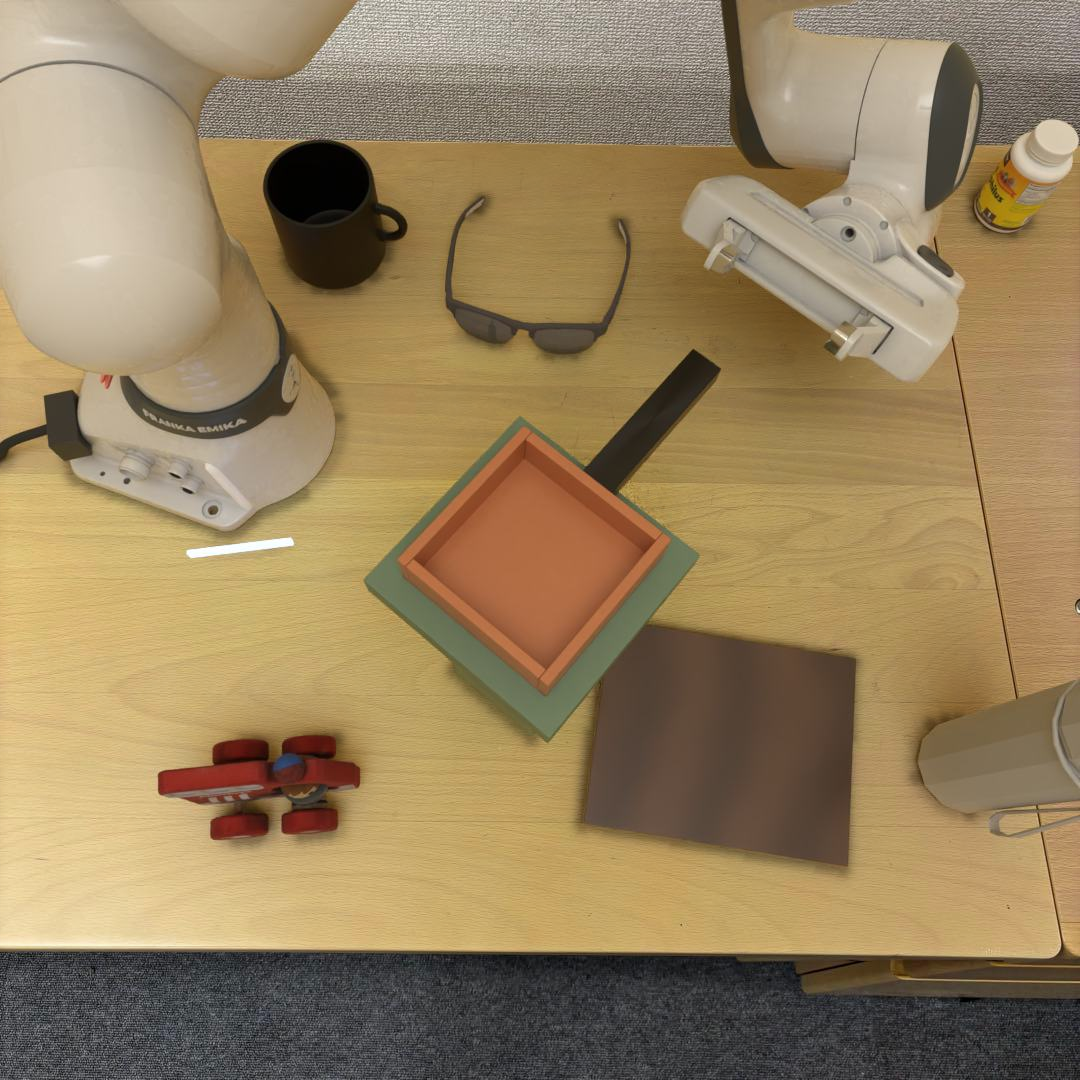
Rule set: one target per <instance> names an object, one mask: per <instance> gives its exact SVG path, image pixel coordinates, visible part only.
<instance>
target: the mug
mask: <svg viewBox="0 0 1080 1080" xmlns="http://www.w3.org/2000/svg"><path fill="white" fill-rule="evenodd" d="M262 193H263V198H264V201H265V203H266V207H267V208H268V211H269V215H270V217H271V220H272V223H273V225H274V228H275V231H276V234H277V237H278V239H279V242H280V245H281V247H282V251H283V253H284V256H285V259H286V261H287V263H288V264H287V265H288V266H289V267H290V269H291V271H292V272H293V273H294V274H296V277H298V278H299V279H301V280H303V281H304V282H305V283H307V284H308V285H311V286H314V287H316V288H319V289H324V290H343V289H349V288H351V287H354V286H357V285H359V284H361V283H363V282H365V281H366V280H368V279H370V278H371V276H373V274H375V273H376V271H377V270H378V269H379V267H380V265H381V263H382V262H383V260H384V257H385V254H386V247H387V242H397V241H400V240H402V239H403V238H404V237H405V236H406V235H407V233H408V230H409V224H408V222H407V219H406V218H405V216H404V215H403V214H402V213H401V212H400V211H398V210H397V209H396V208H393V207H392V206H389V205H386V204H382V202H379V199H378V193H377V187H376V182H375V177H374V173H373V170H372V168H371V165H370V163H369V162H368V161H367V159H366V158H365V157H364V156H363V154H362V153H360V152H359V151H358V150H356V149H355V148H354V147H352V146H351V145H348V144H346V143H344V142H340V141H338V140H333V139H325V138H323V139H320V138H319V139H318V138H317V139H309V140H304V141H302V142H301V141H300V142H297V143H295V144H292V145H291V146H288V147H287V148H285V149H283V150H282V151H280V153H278V154H277V155H276V156H275V157H274V158H273V159H272V161H271V162H270V163H269V165H268V166H267V169H266V170H265V174H264V176H263V182H262ZM382 216H385V217H388V218H390V219H391V220H393V221H394V222H395V223H396V225H397V226H398V227H397V229H396V230H393V231H387V230H386V229H384V224H383V219H382Z"/></svg>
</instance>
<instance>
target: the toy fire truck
mask: <svg viewBox="0 0 1080 1080" xmlns="http://www.w3.org/2000/svg"><path fill="white" fill-rule="evenodd" d="M211 751H212V757H211V758H212V759H211V761H212V762H211V763H212V765H203V766H202V765H201V766H193V767H182V768H174V769H173V768H172V769H164V770H161V771H159V772H158V773H157V793H158V795H159V796H161V797H164V798H165V797H166V798H169V799H181V800H185V801H187V802H190V803H194V804H196V805H199V806H210V805H223V804H233V810H232V811H233V812H232V813H233V814H228V815H220V816H216V817H214V818H212V819H211V820H210V822H209V824H210V825H209V827H210V829H209V836H210V839H211V840H213V841H230V840H241V839H242V840H243V839H249V838H257V837H263V836H266V835H267V834H269V829H270V825H269V824H270V823H269V822H270V821H269V814H268V813H265V812H247V811H248V808H247V807H248V805H247V804H248V802H250V801H260V800H269V799H277V798H278V799H279V798H286V799H287V800H288V801H290V802H291V809H292V810H291V811H288V812H287V811H286V812H284V813H282V814H281V819H280V821H281V828H280V829H281V833H282V834H283V835H287V836H288V835H289V836H290V835H292V836H293V835H294V836H295V835H311V834H319V833H328V832H334V831H336V830H337V829H338V827H339V812H338V810H337V809H336V808H332V807H329V808H328V803H329V802H328V799H327V795H326V793H334V792H342V791H351V790H357V789H358V788H359V787H360V786H361V768H360V766H358V765H357V764H356V763H355V762H354V761H344V760H339V759H338V760H337V759H333V758H335V757H336V755H337V740H336V738H335V737H334V736H332V735H326V734H305V735H304V734H303V735H295V736H291V737H288V738H285V739H284V740H283V741H282V742H281V755H280V756H279V757H277V758H276V760H275V761H269V759H270V743H269V742H268V741H266V740H264V739H258V738H239V739H232V740H231V739H230V740H224V741H220V742H217V743H215V744H214V745H213V746H212V750H211Z"/></svg>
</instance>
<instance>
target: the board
mask: <svg viewBox="0 0 1080 1080" xmlns="http://www.w3.org/2000/svg"><path fill="white" fill-rule="evenodd" d="M856 670H857V658H855V657H849V656H842V655H837V654H830V653H823V652H817V651H811V650H805V649H804V650H803V649H799V648H792V647H786V646H780V645H773V644H767V643H761V642H755V641H749V640H742V639H736V638H731V637H725V636H718V635H713V634H712V635H711V634H706V633H698V632H693V631H685V630H680V629H674V628H668V627H662V626H656V625H650V624H649V625H648V624H646V625H645V626H644V627H643V628H642V630H641V631H640V632H639V633H638V634H637V636H636V637H635V638H634V639H633V640H632V642H631V643H630V644H629V645H628V647H627V648H626V649H625V650H624V651H623V653H622V654H621V655H620V656H619V658H618V659H617V660H616V661H615V662H614V664H613V665H612V666H611V667H610V669H609V670H608V671H607V672H606V673H605V675H604V676H603V677H602V678H601V679H600V685H599V693H598V694H599V695H598V701H597V709H596V716H595V723H594V730H593V731H594V733H593V738H592V746H591V752H590V753H591V754H590V761H589V767H588V768H589V769H588V776H587V783H586V791H585V798H584V805H583V812H582V820H581V824H582V825H583V826H584V825H585V826H590V827H591V826H592V827H598V828H603V829H610V830H616V831H620V832H621V831H622V832H627V833H634V834H640V835H646V836H652V837H658V838H663V839H670V840H675V841H682V842H688V843H694V844H700V845H706V846H713V847H719V848H725V849H731V850H737V851H742V852H748V853H755V854H761V855H766V856H773V857H779V858H785V859H791V860H798V861H803V862H809V863H815V864H822V865H827V866H834V867H839V868H847V867H849V852H850V851H849V850H850V848H849V847H850V828H851V827H850V825H851V823H850V822H851V801H852V799H851V797H852V773H853V750H854V749H853V748H854V720H855V699H856V698H855V697H856V696H855V695H856V672H857V671H856Z"/></svg>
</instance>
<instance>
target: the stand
mask: <svg viewBox="0 0 1080 1080" xmlns="http://www.w3.org/2000/svg"><path fill="white" fill-rule="evenodd" d="M523 426H525V427H527V428H528V429H529V430H531V431H532V432H533V433H535V434H536V435H537V436H538V437H540V438H541V439H542V440H544V441H545V442H546V443H548V444H549V445H550V446H551V447H553V448H554V449H555V450H557V451H558V452H559V453H561V454H562V455H563V456H564V457H566V458H567V459H568V460H570V461H571V462H572V463H573V464H575V465H576V466H577V467H579V468H580V469H581V470H584V469H585V467H586V466H587V465H585V464H584V463H582V462H581V461H579V460H578V459H577V458H576V457H574V456H573V455H572V454H570V452H568V451H567V450H565V449H564V448H562V446H560V445H559V444H557V443H556V442H555V441H553V440H552V439H551V438H550V437H549V436H547V435H546V434H544V432H542V431H540V430H539V429H538V428H536V427H535V426H534V425H533V424H531V423H530V422H529V421H527V420H526V419H525V418H524V417H522V416H521V415H519V416H518V417H517V418H516V419H515V420H514V421H513V422H512V423H511V424H510V425H509V426H508V427H507V429H505V431H503V433H502V434H501V435H500V436H499V437H498V438H497V439H496V440H495V441H494V442H493V443H492V444H491V445H490V446H489V447H488V448H487V450H486V451H484V453H482V455H480V456H479V458H478V459H476V461H475V462H474V463H473V464H472V465H471V466H470V467H469V468H468V469H467V470H466V471H465V472H464V473H463V475H461V477H460V478H459V479H458V480H456V482H455V483H454V484H453V485H452V486H451V487H450V488H449V489H448V490H447V491H446V492H445V493H444V494H443V496H442V497H440V499H439V500H438V501H436V503H434V505H433V506H432V507H431V508H430V509H429V510H428V511H427V512H426V513H425V514H424V515H423V517H421V519H420V520H419V521H418V522H417V523H416V524H415V525H414V526H413V527H412V528H411V529H410V530H409V531H408V532H407V533H406V534H405V535H404V536H403V537H402V538H401V539H400V541H398V542H397V543H396V545H395V546H394V547H393V548H392V549H391V550H390V551H389V552H388V553H387V554H386V555H385V556H384V557H383V558H382V559H381V560H380V562H378V563H377V565H376V566H375V567H374V568H373V569H372V570H371V571H370V572H369V573H368V574H367V575H365V577H364V578H363V582H364V585H365V587H366V589H367V590H368V592H369V593H371V594H372V595H373V596H374V597H375V598H376V599H378V601H380V602H381V603H382V604H383V605H384V606H386V607H387V608H388V609H389V610H390V611H392V613H394V615H396V616H397V617H399V618H400V619H401V620H402V621H403V622H405V624H406V625H408V626H409V627H410V628H411V629H412V630H414V632H416V633H418V635H420V636H421V637H422V638H423V639H424V640H426V641H427V642H428V643H429V644H430V645H431V646H433V647H434V648H435V649H436V650H437V651H439V652H440V653H441V654H442V655H443V656H444V657H446V658H447V659H448V660H449V661H450V662H451V663H452V666H453V670H454V672H455V674H457V675H458V676H459V677H460V678H461V679H463V680H464V681H465V682H466V683H467V684H468V685H470V686H471V687H472V688H473V689H474V690H475V691H477V692H478V693H479V694H480V695H482V697H484V698H485V699H486V700H487V701H488V702H490V704H492V705H493V706H494V707H495V708H497V709H498V711H500V712H501V713H502V714H504V715H505V716H506V717H507V718H508V719H509V720H510V721H512V722H513V724H515V725H516V726H517V727H518V728H520V729H521V730H522V731H523V732H525V733H526V734H527V735H528V736H529V737H531V736H532V735H533V734H536V736H538V737H539V738H541V739H542V740H543V742H545V743H546V744H549V743H550V742H551V741H552V739H553V738H554V737H555V735H556V734H557V733H558V732H559V731H560V730H561V728H562V727H563V726H564V725H565V723H566V722H567V721H568V720H569V718H571V716H572V715H573V714H574V712H575V711H576V710H577V709H578V708H579V706H581V704H582V703H583V701H585V700H586V698H587V697H588V695H589V694H590V693H591V692H592V691H593V689H594V688H595V687H596V685H597V684H598V683H600V682H601V678H602V677H603V676H604V675H605V673H606V672H607V671H608V670H609V669H610V667H611V666H612V665H613V664H614V662H615V661H616V660H617V659H618V658H619V656H620V655H621V654H622V653H623V651H624V650H625V649H626V648H627V647H628V645H629V644H630V643H631V642H632V640H633V639H634V638H635V637H636V636H637V634H638V633H639V632H640V631H641V630H642V628H643V627H644V626H645V625H647V624H648V623H649V621H650V620H651V619H652V617H653V616H654V615H655V614H656V612H658V610H659V609H660V608H661V607H662V605H663V604H664V603H665V602H666V600H667V599H668V598H669V597H670V596H671V594H672V593H673V592H674V591H675V589H676V588H677V587H678V586H679V585H680V583H681V582H682V581H683V579H685V577H686V576H687V575H688V573H689V572H691V570H692V569H693V567H694V566H695V565H696V563H697V562H698V560H699V558H700V557H701V554H700V553H699V552H698V551H696V550H695V549H694V548H692V547H691V546H690V545H688V544H687V543H686V542H685V541H683V540H682V539H681V538H679V536H677V535H675V534H674V533H673V532H672V531H670V530H669V529H668V528H666V527H665V525H663V524H661V522H659V521H657V520H656V519H655V518H653V516H651V515H650V514H648V513H647V512H646V511H644V509H642V508H640V507H639V506H638V505H637V504H635V503H634V502H633V501H632V500H631V499H629V498H627V497H626V496H625V495H624V494H622V493H621V492H620V491H619V492H618V493H617V494H616V495H615V496H616V497H618V498H619V499H620V500H621V501H623V502H624V503H625V504H627V505H628V506H629V507H630V508H632V509H633V510H634V511H636V512H637V513H638V514H640V515H641V516H642V517H643V518H645V519H646V520H647V521H649V522H650V523H651V524H652V525H654V526H655V527H656V528H658V529H659V530H660V531H662V533H664V534H665V535H667V536H668V537H669V538H671V541H670V543H669V545H668V547H667V549H666V551H665V553H664V555H663V557H662V559H661V560H660V561H659V562H658V564H657V565H656V566H655V567H654V568H653V569H652V571H651V572H650V573H649V574H648V575H647V577H646V578H645V579H644V580H643V581H642V583H641V584H640V585H639V586H638V587H637V589H636V590H635V591H634V592H633V593H632V595H631V596H630V597H629V598H628V599H627V601H626V602H625V603H624V604H623V605H622V607H621V608H620V609H619V610H618V611H617V612H616V614H615V615H614V616H613V617H612V618H611V620H610V621H609V622H608V623H607V624H606V626H605V627H604V628H603V629H602V630H601V632H600V633H599V634H598V635H597V636H596V638H595V639H594V640H593V641H592V642H591V644H590V645H589V646H588V647H587V648H586V650H585V651H584V652H583V653H582V654H581V655H580V657H579V658H578V659H577V660H576V661H575V663H574V664H573V665H572V666H571V667H570V669H569V670H568V671H567V672H566V673H565V675H564V676H563V677H562V678H561V679H560V681H559V682H558V683H557V684H556V685H555V687H554V688H553V689H552V690H551V691H550V692H549V694H548V695H547V696H544V695H543V694H542V693H540V692H539V691H538V690H537V689H536V688H534V687H533V686H532V685H531V684H530V683H528V682H527V681H526V680H525V679H524V678H523V677H521V676H520V675H519V674H518V673H517V672H515V671H514V670H513V669H512V668H511V667H509V666H508V665H507V664H506V663H505V662H503V661H502V660H501V659H500V658H499V657H498V656H496V655H495V654H494V653H493V652H492V651H490V650H489V649H488V648H487V647H486V646H484V645H483V644H482V643H481V642H480V641H479V640H477V639H476V638H475V637H474V636H473V635H471V634H470V633H469V632H468V631H467V630H465V629H464V628H463V627H462V626H461V625H459V624H458V623H457V622H456V621H455V620H454V619H452V618H451V617H450V616H449V615H448V614H446V613H445V612H444V611H443V610H442V609H440V608H439V607H438V606H437V605H436V604H434V603H433V602H432V601H431V600H430V599H429V598H427V597H426V596H425V595H424V594H423V593H421V592H420V591H419V590H418V589H417V588H415V587H414V586H413V585H412V584H411V583H410V582H408V581H407V580H406V579H405V578H404V577H403V575H402V572H401V569H400V567H399V564H398V561H397V559H398V557H399V556H400V555H401V554H402V553H403V552H404V551H405V550H406V549H407V548H408V547H409V546H410V545H411V544H412V543H413V542H414V541H415V540H416V539H417V537H418V536H419V535H420V534H421V533H422V532H423V531H424V530H425V529H426V528H427V527H428V526H429V525H430V524H431V523H432V522H433V521H434V520H435V519H436V517H437V516H438V515H439V514H440V513H441V512H442V511H443V510H444V509H445V508H446V507H447V506H448V505H449V504H450V503H451V502H452V501H453V500H454V498H455V497H456V496H457V495H458V494H459V493H460V492H461V491H462V490H463V489H464V488H465V487H466V486H467V485H468V484H469V483H470V482H471V481H472V480H473V478H474V477H475V476H476V475H477V474H478V473H479V472H480V471H481V470H482V469H483V468H484V467H485V466H486V465H487V464H488V463H489V462H490V461H491V459H492V458H493V457H494V456H495V455H496V454H497V453H498V452H499V451H500V450H501V449H502V448H503V447H504V446H505V445H506V444H507V443H508V442H509V441H510V439H511V438H512V437H513V436H514V435H515V434H516V433H517V432H518V431H519V430H520V429H521V428H522V427H523Z"/></svg>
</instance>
